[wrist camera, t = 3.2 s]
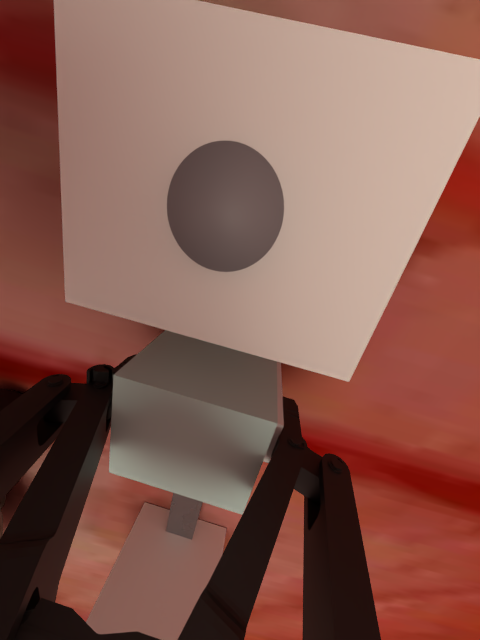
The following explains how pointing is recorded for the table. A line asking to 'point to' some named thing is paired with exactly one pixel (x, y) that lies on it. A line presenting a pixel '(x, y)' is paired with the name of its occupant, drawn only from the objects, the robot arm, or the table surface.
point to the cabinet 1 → (157, 577)
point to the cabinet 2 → (249, 171)
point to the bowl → (1, 516)
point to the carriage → (194, 419)
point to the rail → (183, 516)
